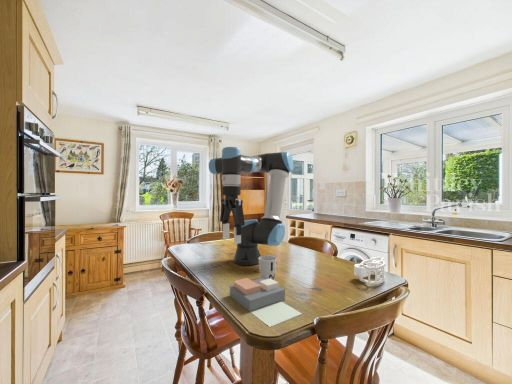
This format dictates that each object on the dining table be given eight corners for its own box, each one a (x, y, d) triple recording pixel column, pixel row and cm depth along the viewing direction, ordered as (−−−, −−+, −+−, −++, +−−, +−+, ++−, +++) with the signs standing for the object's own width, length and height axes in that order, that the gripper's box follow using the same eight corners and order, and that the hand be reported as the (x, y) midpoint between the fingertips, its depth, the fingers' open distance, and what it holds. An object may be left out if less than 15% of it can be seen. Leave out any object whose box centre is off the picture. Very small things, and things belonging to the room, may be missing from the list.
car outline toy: (371, 269, 118) (371, 255, 118) (395, 275, 110) (395, 260, 110) (349, 278, 106) (349, 262, 106) (374, 286, 98) (374, 268, 98)
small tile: (259, 286, 88) (259, 281, 88) (270, 283, 91) (270, 278, 91) (267, 291, 84) (267, 285, 84) (278, 287, 87) (278, 282, 87)
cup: (271, 285, 99) (271, 261, 99) (255, 281, 103) (254, 258, 103) (279, 279, 106) (279, 257, 106) (264, 275, 110) (264, 254, 110)
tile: (233, 286, 88) (233, 281, 88) (247, 283, 91) (247, 277, 91) (246, 295, 81) (246, 289, 81) (260, 291, 84) (260, 285, 84)
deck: (230, 296, 88) (229, 286, 88) (262, 287, 97) (262, 277, 97) (250, 312, 77) (250, 300, 77) (284, 300, 85) (284, 289, 85)
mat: (250, 313, 76) (250, 312, 76) (281, 302, 84) (281, 301, 84) (269, 328, 68) (269, 326, 68) (301, 314, 75) (301, 313, 75)
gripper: (211, 186, 102) (212, 237, 102) (236, 185, 84) (236, 247, 84) (227, 186, 106) (227, 235, 106) (253, 185, 88) (254, 244, 89)
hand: (231, 241), depth 95 cm, fingers open, 9 cm apart
